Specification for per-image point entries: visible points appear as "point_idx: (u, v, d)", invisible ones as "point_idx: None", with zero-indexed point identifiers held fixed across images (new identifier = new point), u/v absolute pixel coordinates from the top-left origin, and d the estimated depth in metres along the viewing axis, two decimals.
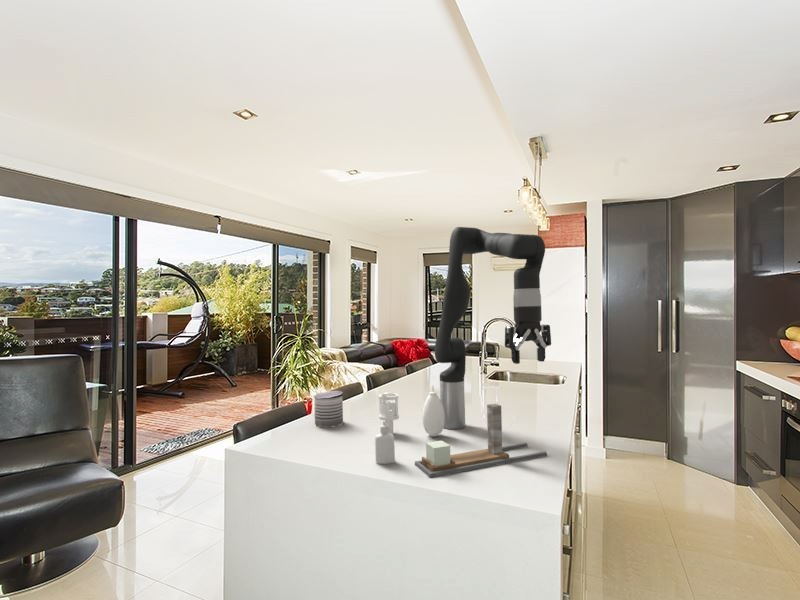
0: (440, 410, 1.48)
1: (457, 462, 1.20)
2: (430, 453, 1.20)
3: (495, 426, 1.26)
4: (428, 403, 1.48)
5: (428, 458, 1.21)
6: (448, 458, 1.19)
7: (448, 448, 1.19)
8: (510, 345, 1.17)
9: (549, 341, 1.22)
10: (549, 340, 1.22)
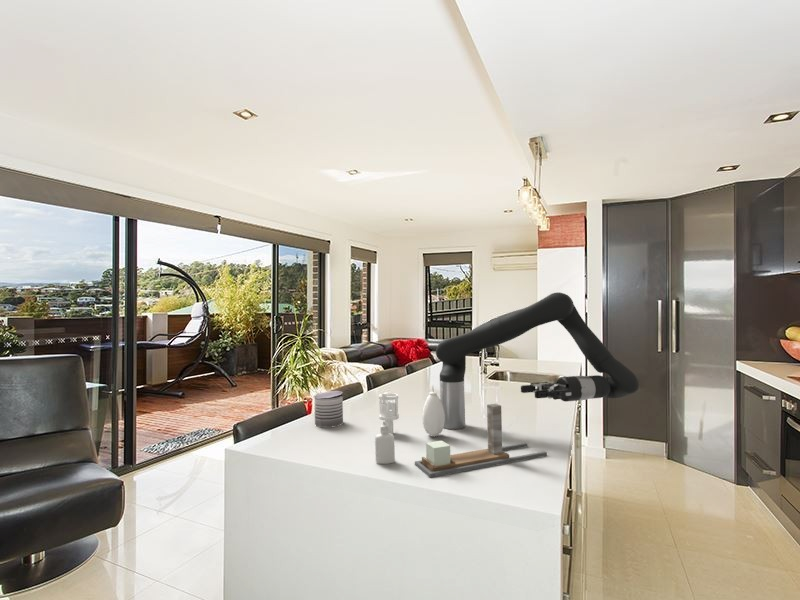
0: (440, 410, 1.48)
1: (457, 462, 1.20)
2: (430, 453, 1.20)
3: (495, 426, 1.26)
4: (428, 403, 1.48)
5: (428, 458, 1.21)
6: (448, 458, 1.19)
7: (448, 448, 1.19)
8: None
9: None
10: None
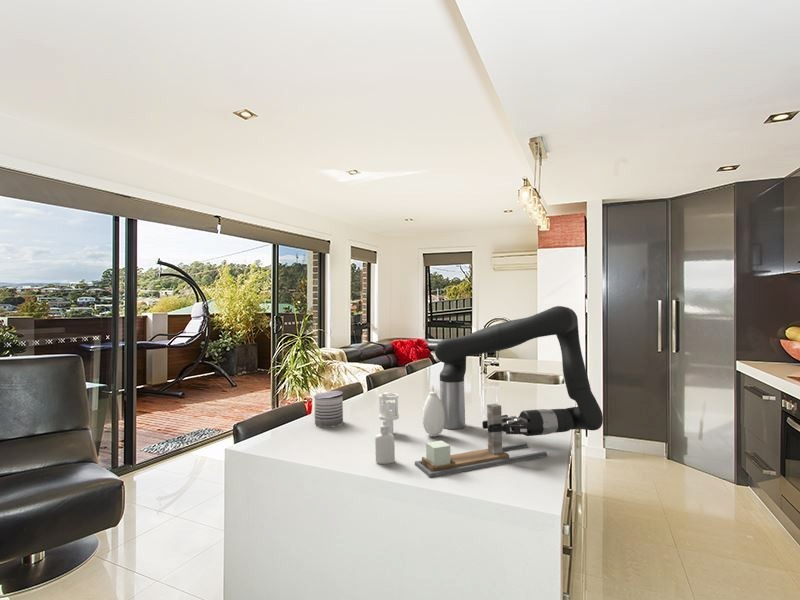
0: (440, 410, 1.48)
1: (457, 462, 1.20)
2: (430, 453, 1.20)
3: None
4: (428, 403, 1.48)
5: (428, 458, 1.21)
6: (448, 458, 1.19)
7: (448, 448, 1.19)
8: (508, 433, 1.24)
9: None
10: None
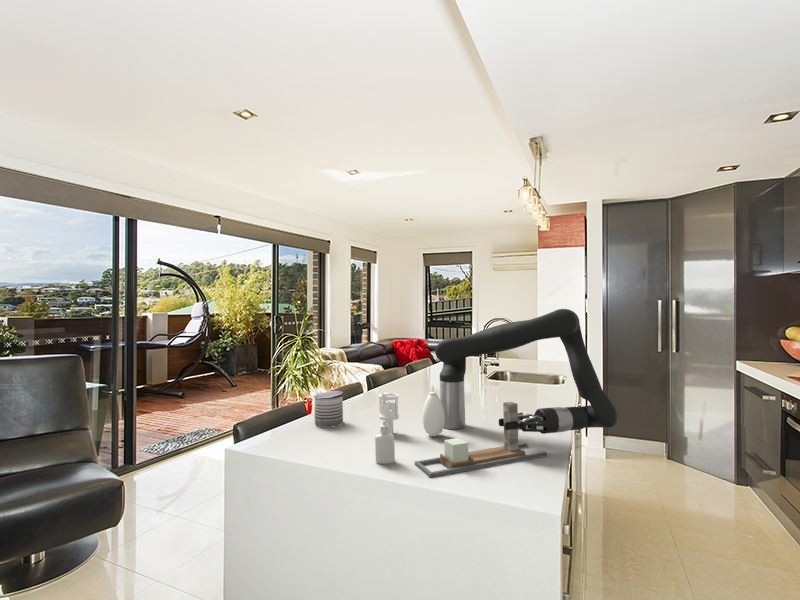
0: (440, 410, 1.48)
1: (475, 459, 1.22)
2: (448, 450, 1.22)
3: None
4: (428, 403, 1.48)
5: (447, 455, 1.23)
6: (466, 455, 1.22)
7: (466, 445, 1.22)
8: (525, 431, 1.26)
9: None
10: None
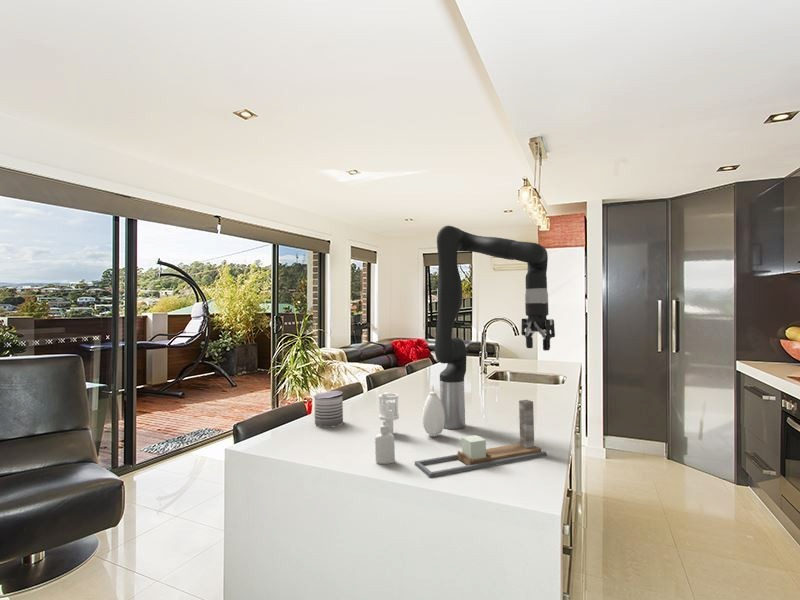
0: (440, 410, 1.48)
1: (492, 456, 1.25)
2: (466, 447, 1.24)
3: (527, 422, 1.31)
4: (428, 403, 1.48)
5: (464, 452, 1.25)
6: (484, 452, 1.24)
7: (484, 442, 1.24)
8: None
9: None
10: None
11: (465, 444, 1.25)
